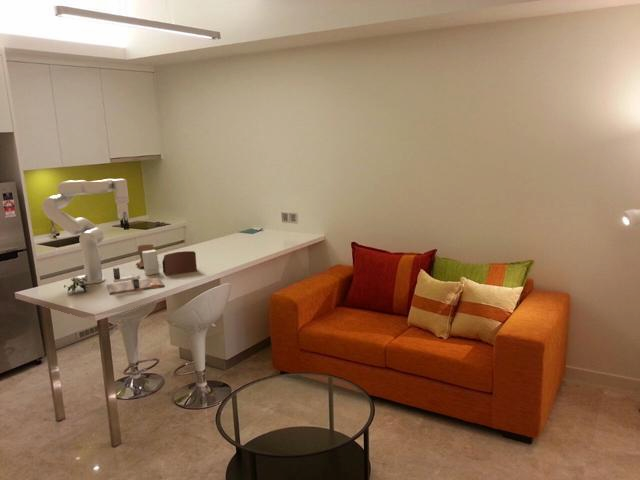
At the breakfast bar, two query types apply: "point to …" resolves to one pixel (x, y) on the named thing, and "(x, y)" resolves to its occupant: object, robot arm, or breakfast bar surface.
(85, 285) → the passion flower
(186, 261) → the letter holder
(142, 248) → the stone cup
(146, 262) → the skincare box
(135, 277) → the crank handle
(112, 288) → the jamb plate
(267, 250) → the breakfast bar surface
